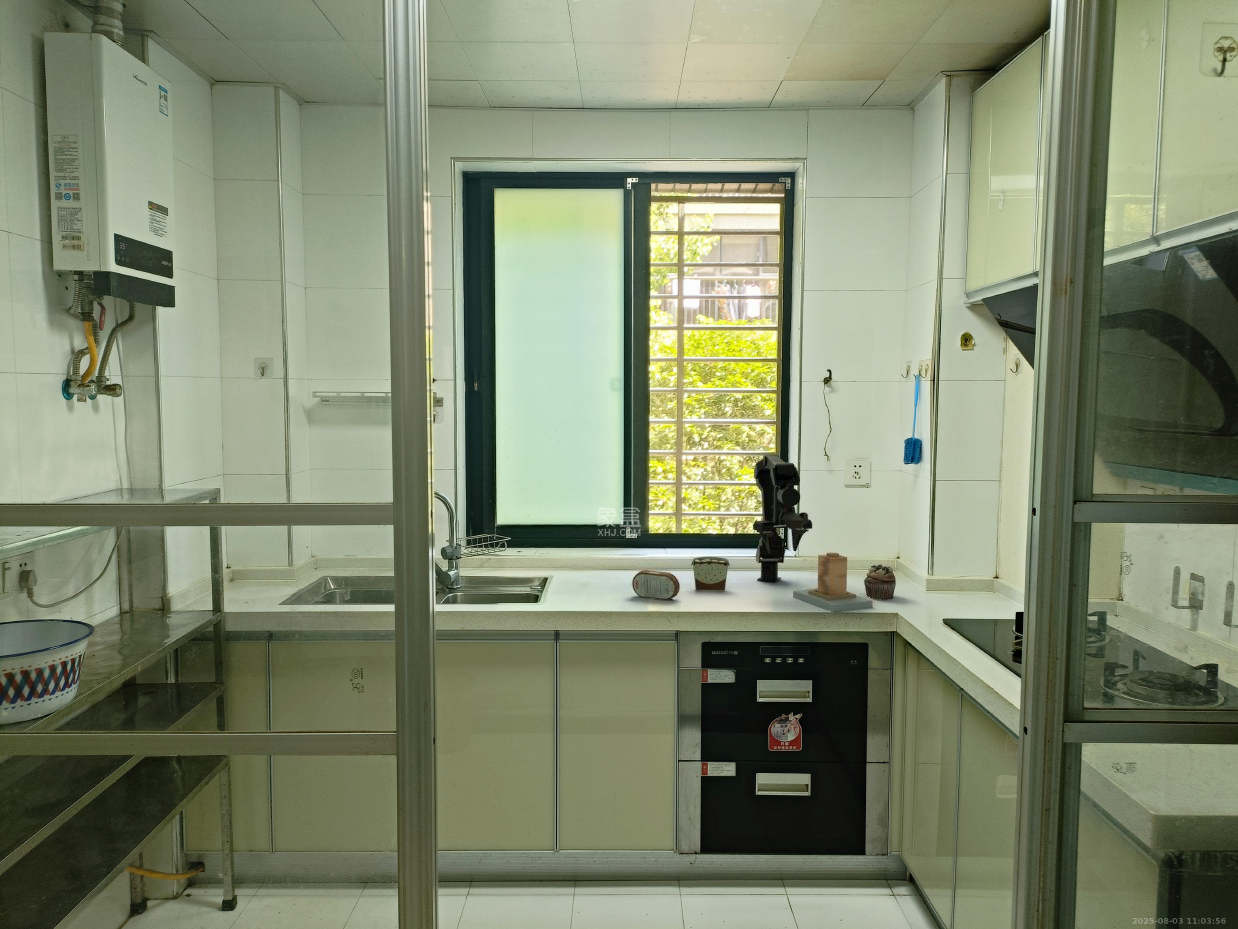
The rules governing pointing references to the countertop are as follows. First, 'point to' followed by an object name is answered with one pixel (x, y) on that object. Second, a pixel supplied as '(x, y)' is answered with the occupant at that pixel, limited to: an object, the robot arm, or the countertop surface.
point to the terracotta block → (832, 574)
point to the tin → (655, 585)
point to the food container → (710, 573)
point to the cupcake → (880, 582)
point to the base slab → (833, 600)
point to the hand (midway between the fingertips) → (782, 552)
